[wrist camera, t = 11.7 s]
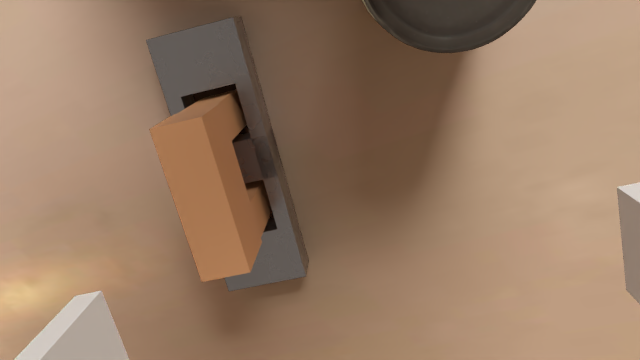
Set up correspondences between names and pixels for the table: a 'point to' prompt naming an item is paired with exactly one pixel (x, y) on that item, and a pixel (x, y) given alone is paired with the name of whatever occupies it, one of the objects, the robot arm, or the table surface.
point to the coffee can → (447, 21)
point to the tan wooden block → (213, 185)
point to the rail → (250, 148)
